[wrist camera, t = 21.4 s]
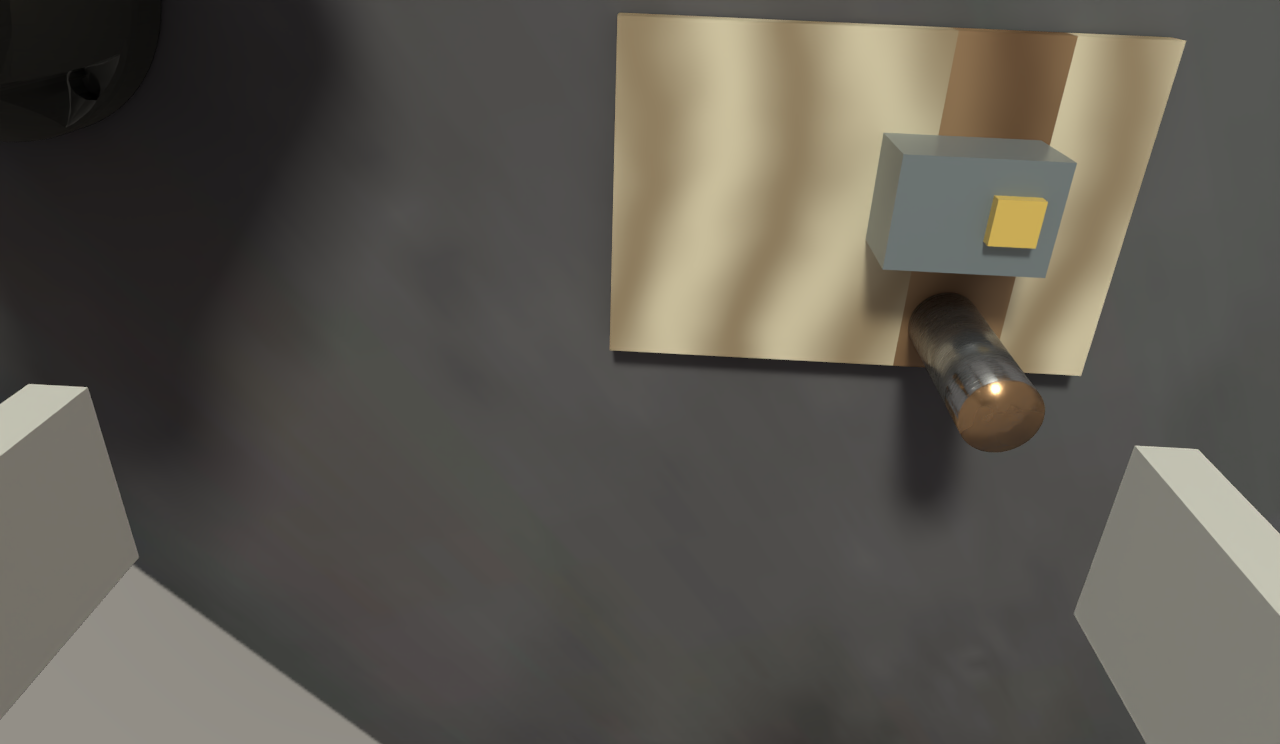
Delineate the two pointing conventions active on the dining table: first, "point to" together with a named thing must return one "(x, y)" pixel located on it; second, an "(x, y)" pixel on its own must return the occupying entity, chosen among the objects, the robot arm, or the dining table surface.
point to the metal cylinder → (975, 374)
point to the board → (855, 180)
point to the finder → (967, 204)
